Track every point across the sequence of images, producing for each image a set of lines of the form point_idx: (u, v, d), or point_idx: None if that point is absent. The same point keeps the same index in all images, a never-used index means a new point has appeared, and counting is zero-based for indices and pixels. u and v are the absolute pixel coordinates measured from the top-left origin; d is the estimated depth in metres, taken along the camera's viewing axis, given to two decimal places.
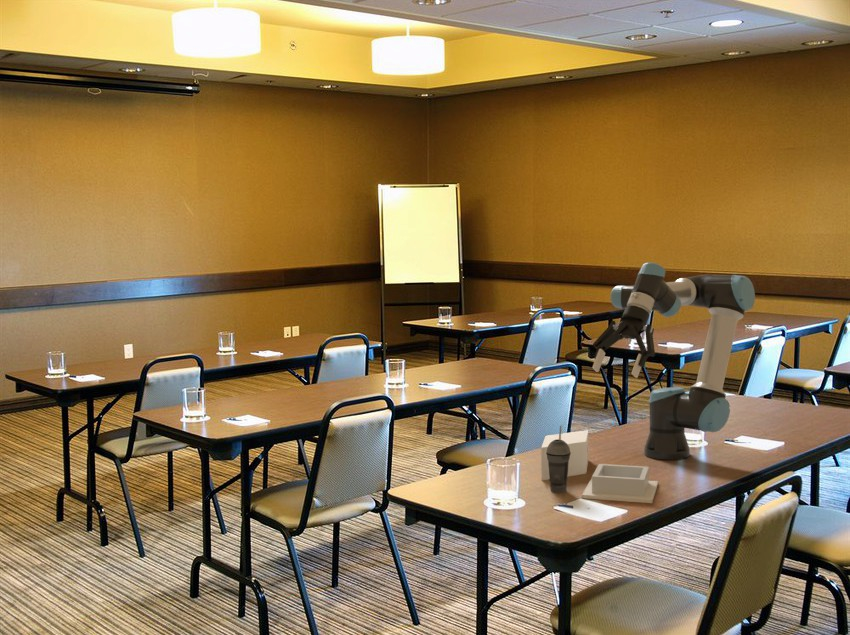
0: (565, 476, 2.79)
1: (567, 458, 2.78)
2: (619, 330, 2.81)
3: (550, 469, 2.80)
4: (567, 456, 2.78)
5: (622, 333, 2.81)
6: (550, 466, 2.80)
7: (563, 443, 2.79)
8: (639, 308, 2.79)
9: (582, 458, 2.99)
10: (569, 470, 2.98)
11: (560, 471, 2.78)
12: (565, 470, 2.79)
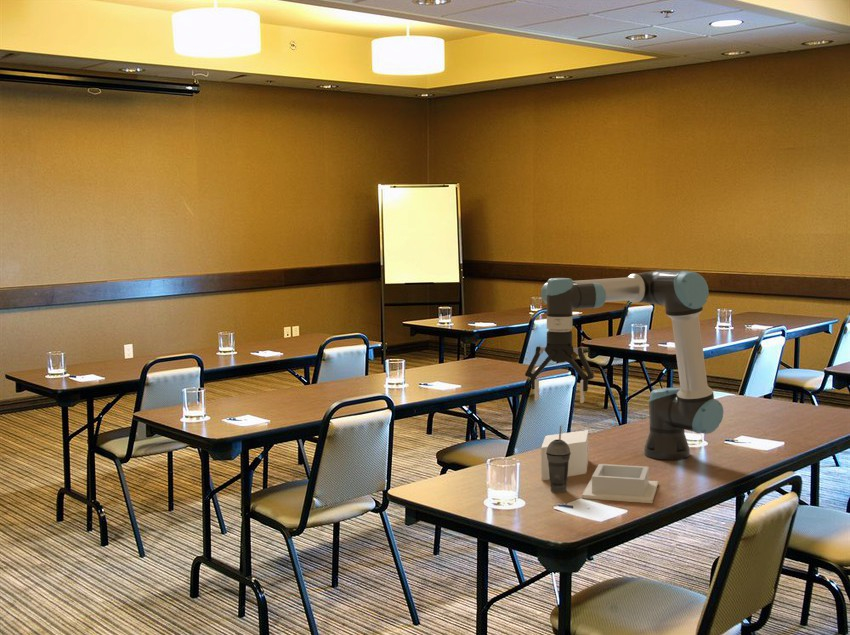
0: (565, 476, 2.79)
1: (567, 458, 2.78)
2: (550, 358, 2.77)
3: (550, 469, 2.80)
4: (567, 456, 2.78)
5: (553, 359, 2.77)
6: (550, 466, 2.80)
7: (563, 443, 2.79)
8: (565, 334, 2.74)
9: (582, 458, 2.99)
10: (569, 470, 2.98)
11: (560, 471, 2.78)
12: (565, 470, 2.79)
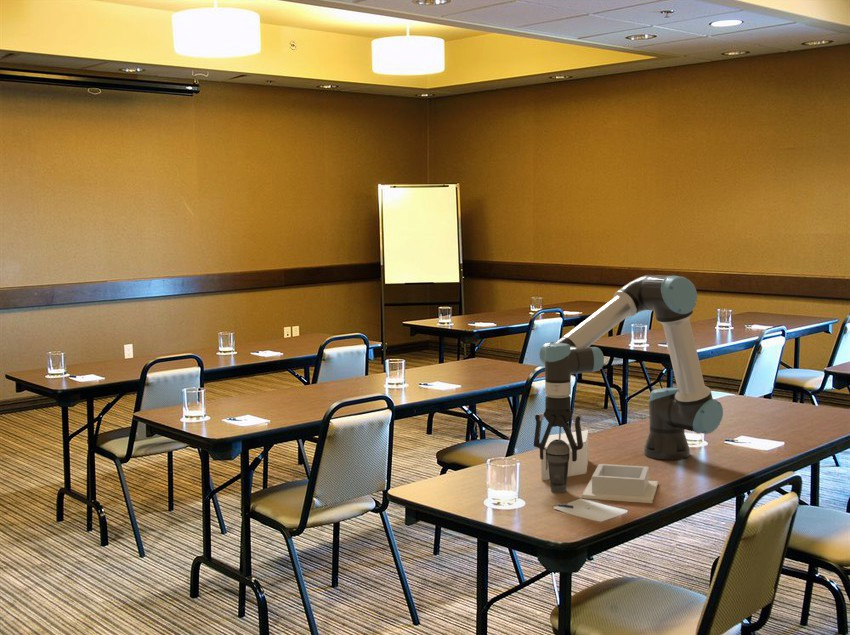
0: (565, 476, 2.79)
1: (567, 458, 2.78)
2: (548, 423, 2.79)
3: (550, 469, 2.80)
4: (567, 456, 2.78)
5: (552, 424, 2.79)
6: (550, 466, 2.80)
7: (563, 443, 2.79)
8: (563, 400, 2.76)
9: (582, 458, 2.99)
10: (569, 470, 2.98)
11: (560, 471, 2.78)
12: (565, 470, 2.79)
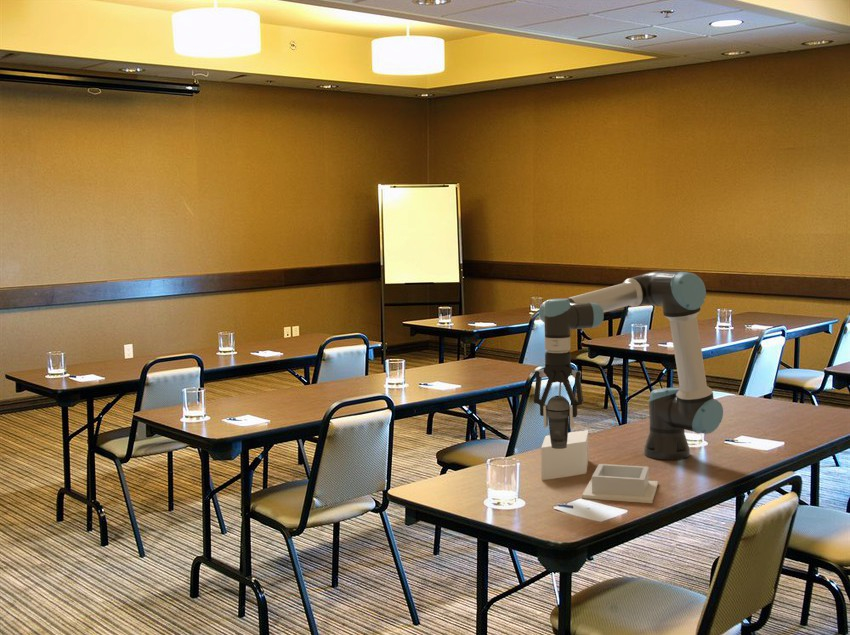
0: (565, 432, 2.78)
1: (567, 414, 2.77)
2: (548, 378, 2.78)
3: (550, 425, 2.79)
4: (567, 412, 2.77)
5: (552, 380, 2.78)
6: (550, 422, 2.78)
7: (563, 399, 2.78)
8: (563, 355, 2.74)
9: (582, 458, 2.99)
10: (569, 470, 2.98)
11: (560, 427, 2.77)
12: (565, 426, 2.78)
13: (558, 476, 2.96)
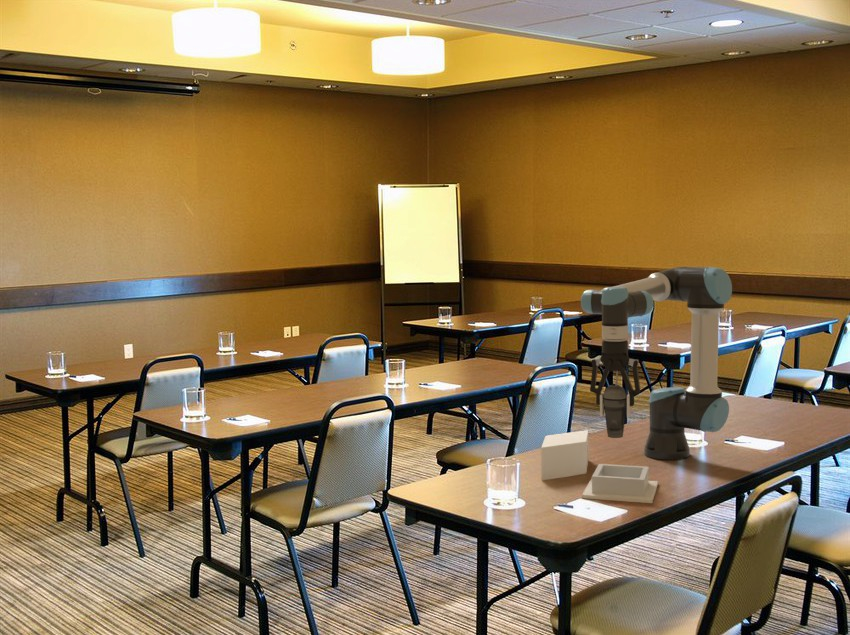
0: (622, 421, 2.76)
1: (624, 403, 2.75)
2: (605, 367, 2.76)
3: (607, 414, 2.77)
4: (624, 401, 2.75)
5: (609, 369, 2.76)
6: (607, 411, 2.76)
7: (620, 388, 2.75)
8: (621, 343, 2.72)
9: (582, 458, 2.99)
10: (569, 470, 2.98)
11: (617, 416, 2.75)
12: (622, 415, 2.76)
13: (558, 476, 2.96)
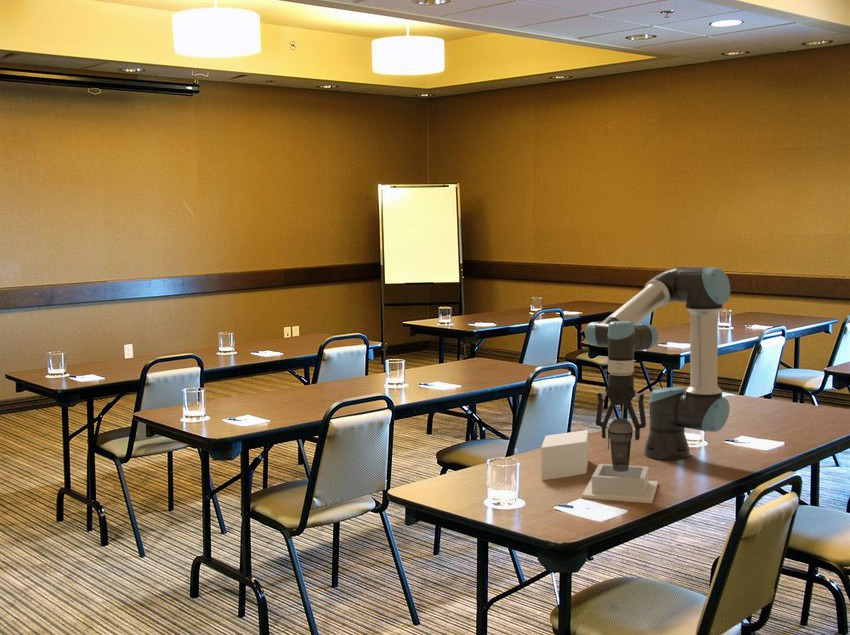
0: (628, 455, 2.77)
1: (630, 437, 2.76)
2: (611, 401, 2.76)
3: (612, 448, 2.77)
4: (630, 434, 2.76)
5: (615, 403, 2.77)
6: (612, 445, 2.77)
7: (626, 421, 2.76)
8: (627, 378, 2.73)
9: (582, 458, 2.99)
10: (569, 470, 2.98)
11: (623, 450, 2.76)
12: (628, 449, 2.76)
13: (558, 476, 2.96)
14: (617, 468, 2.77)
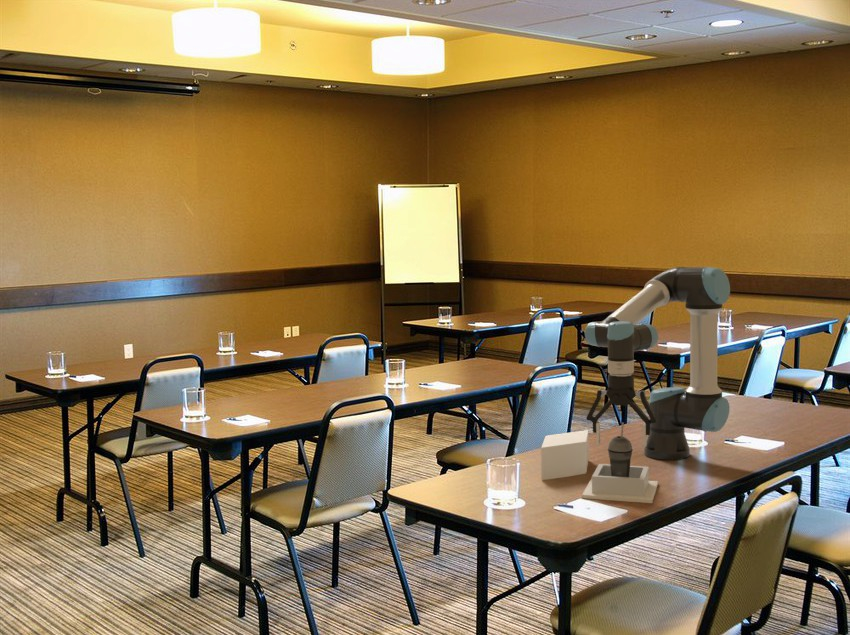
0: (627, 473, 2.77)
1: (629, 455, 2.77)
2: (611, 402, 2.76)
3: (612, 466, 2.78)
4: (629, 453, 2.76)
5: (615, 403, 2.77)
6: (612, 463, 2.78)
7: (625, 440, 2.77)
8: (627, 378, 2.73)
9: (582, 458, 2.99)
10: (569, 470, 2.98)
11: (622, 468, 2.76)
12: (627, 467, 2.77)
13: (558, 476, 2.96)
14: None
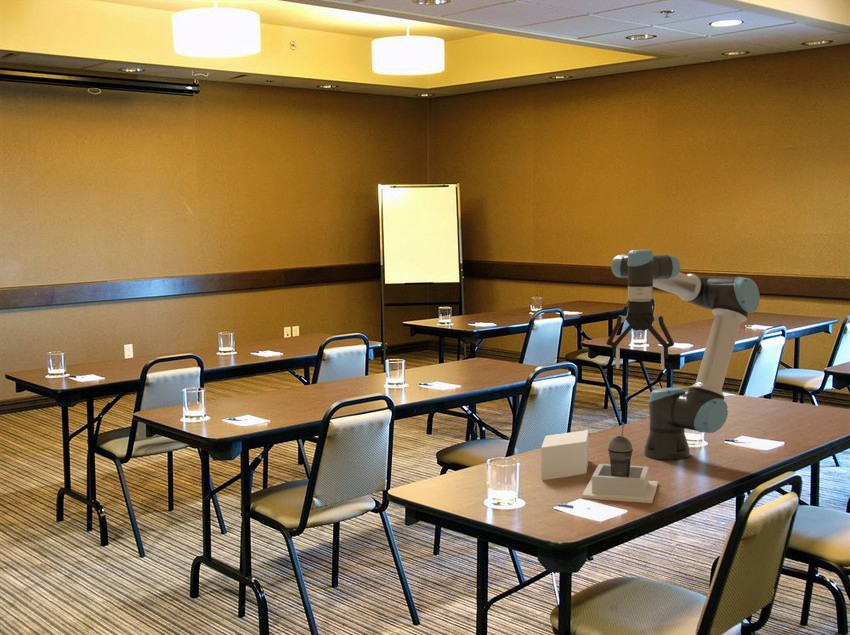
0: (627, 473, 2.77)
1: (630, 455, 2.77)
2: (631, 326, 2.88)
3: (612, 466, 2.78)
4: (630, 453, 2.76)
5: (634, 328, 2.89)
6: (612, 463, 2.78)
7: (625, 440, 2.77)
8: (646, 303, 2.85)
9: (582, 458, 2.99)
10: (569, 470, 2.98)
11: (623, 468, 2.76)
12: (627, 467, 2.77)
13: (558, 476, 2.96)
14: None
